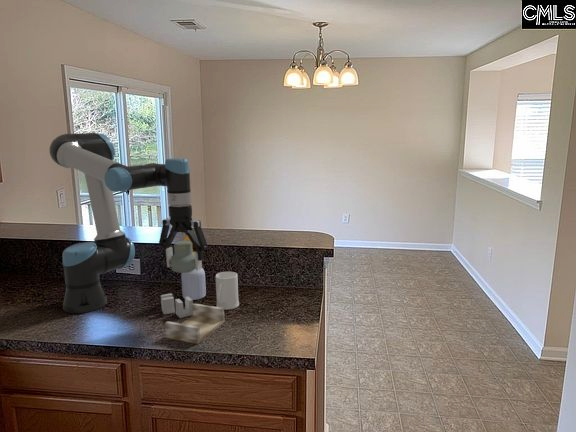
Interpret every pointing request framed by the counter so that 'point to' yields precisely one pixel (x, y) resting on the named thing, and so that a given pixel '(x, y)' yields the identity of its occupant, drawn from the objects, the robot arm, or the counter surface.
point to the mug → (227, 290)
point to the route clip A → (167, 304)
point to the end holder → (196, 324)
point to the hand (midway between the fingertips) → (184, 267)
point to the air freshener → (183, 257)
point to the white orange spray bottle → (193, 282)
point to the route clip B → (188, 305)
